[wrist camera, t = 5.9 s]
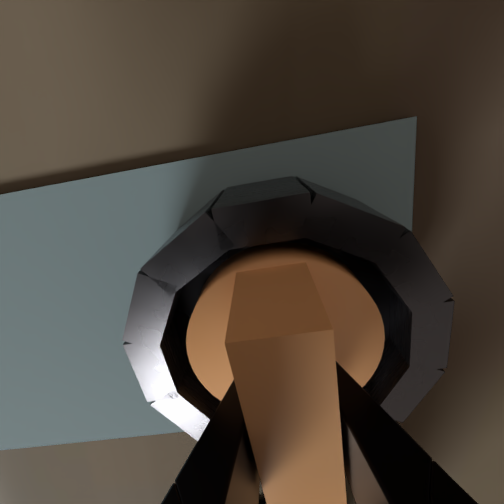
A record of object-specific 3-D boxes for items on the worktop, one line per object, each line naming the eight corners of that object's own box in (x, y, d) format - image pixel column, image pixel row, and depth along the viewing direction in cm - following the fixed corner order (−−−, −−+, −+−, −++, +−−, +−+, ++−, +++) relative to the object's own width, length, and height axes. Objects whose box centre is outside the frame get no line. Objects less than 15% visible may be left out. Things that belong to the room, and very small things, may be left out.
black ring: (390, 365, 14) (437, 445, 10) (196, 388, 15) (176, 468, 11) (393, 157, 10) (470, 165, 7) (135, 203, 11) (74, 232, 7)
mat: (400, 402, 16) (404, 408, 15) (6, 443, 18) (0, 450, 17) (410, 117, 10) (416, 116, 10) (-161, 224, 12) (-174, 227, 12)
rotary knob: (368, 375, 11) (435, 515, 7) (216, 392, 12) (193, 532, 7) (364, 227, 9) (462, 303, 5) (175, 257, 9) (109, 349, 5)
